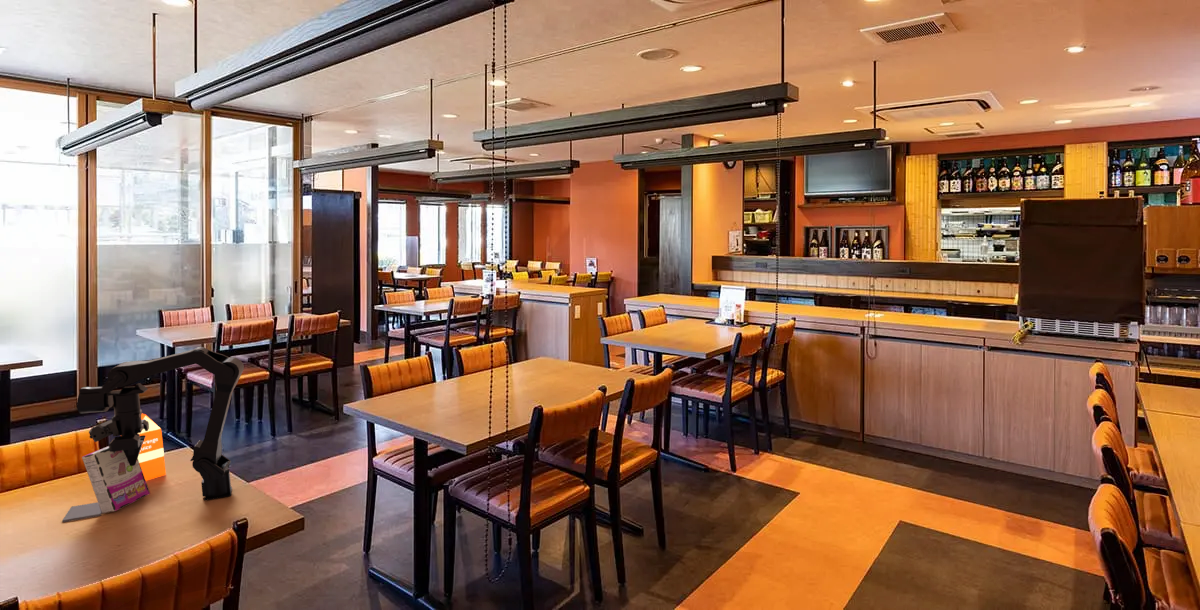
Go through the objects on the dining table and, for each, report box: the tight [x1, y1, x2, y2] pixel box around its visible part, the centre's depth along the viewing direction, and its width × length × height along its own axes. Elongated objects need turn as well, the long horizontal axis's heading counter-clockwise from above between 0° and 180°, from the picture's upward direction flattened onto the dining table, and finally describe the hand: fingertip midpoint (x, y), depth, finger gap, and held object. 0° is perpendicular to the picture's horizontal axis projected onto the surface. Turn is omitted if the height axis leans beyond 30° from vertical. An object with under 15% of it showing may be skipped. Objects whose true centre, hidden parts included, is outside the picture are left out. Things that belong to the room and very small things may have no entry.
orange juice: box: [138, 413, 167, 482], centre depth 200 cm, size 8×9×20 cm
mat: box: [61, 501, 102, 523], centre depth 177 cm, size 8×9×1 cm
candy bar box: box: [81, 445, 151, 515], centre depth 180 cm, size 11×5×16 cm, turn 169°
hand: (132, 465), depth 180 cm, fingers closed
